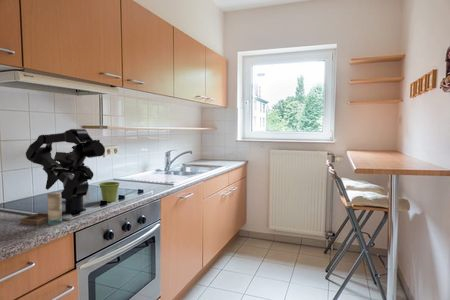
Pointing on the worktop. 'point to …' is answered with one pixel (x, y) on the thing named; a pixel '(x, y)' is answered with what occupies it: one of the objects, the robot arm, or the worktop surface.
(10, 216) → the worktop surface
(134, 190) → the worktop surface
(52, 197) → the birch sleeve
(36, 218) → the walnut socket tray
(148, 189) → the worktop surface
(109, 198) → the plant pot
